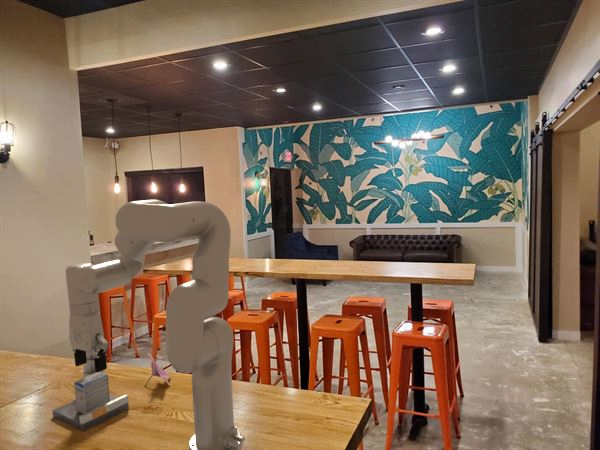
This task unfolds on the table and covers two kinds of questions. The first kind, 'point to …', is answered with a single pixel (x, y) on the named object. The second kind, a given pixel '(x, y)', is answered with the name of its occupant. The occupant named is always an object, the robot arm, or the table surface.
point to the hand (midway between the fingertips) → (91, 367)
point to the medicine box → (91, 392)
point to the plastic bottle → (89, 364)
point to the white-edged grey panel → (90, 413)
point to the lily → (157, 371)
